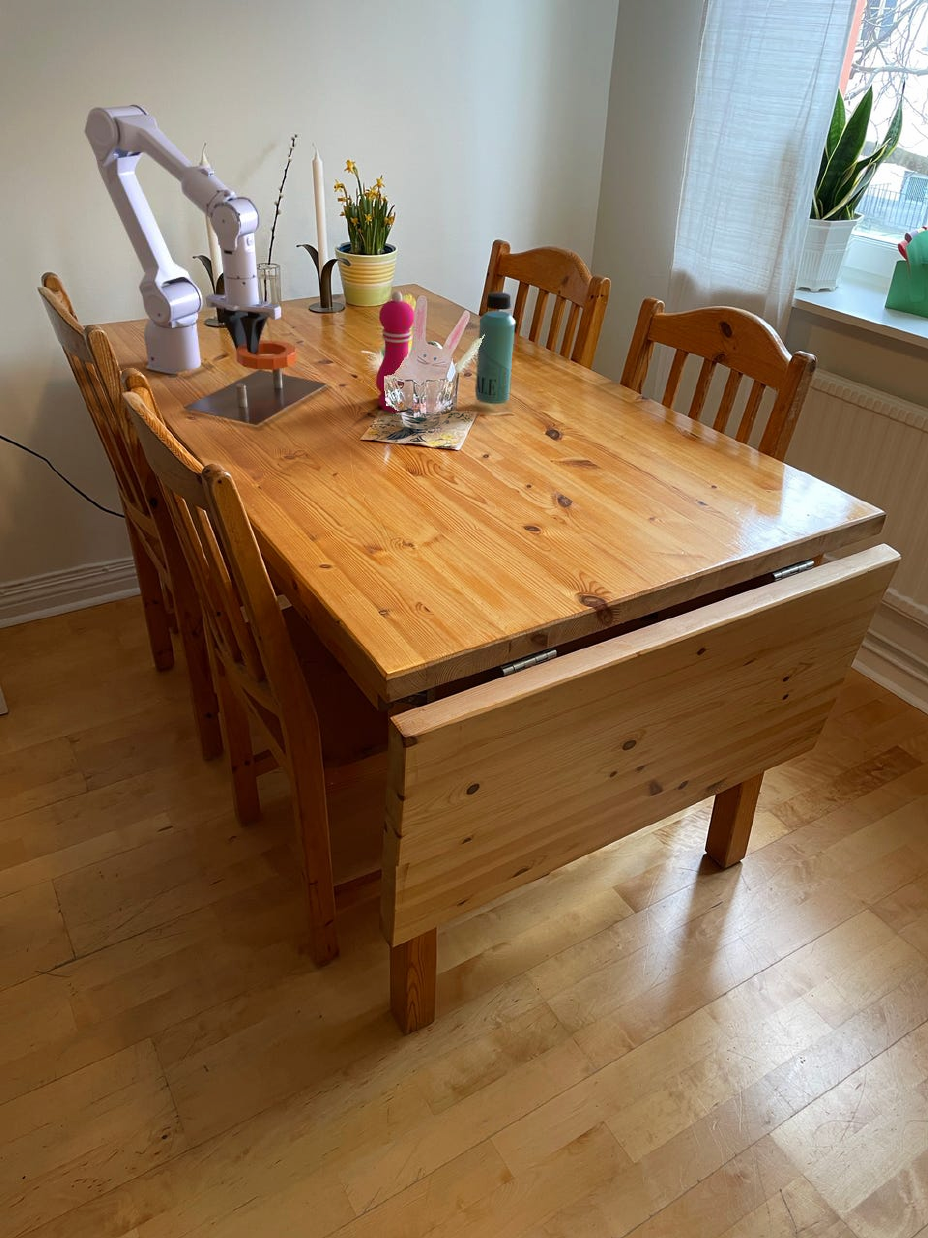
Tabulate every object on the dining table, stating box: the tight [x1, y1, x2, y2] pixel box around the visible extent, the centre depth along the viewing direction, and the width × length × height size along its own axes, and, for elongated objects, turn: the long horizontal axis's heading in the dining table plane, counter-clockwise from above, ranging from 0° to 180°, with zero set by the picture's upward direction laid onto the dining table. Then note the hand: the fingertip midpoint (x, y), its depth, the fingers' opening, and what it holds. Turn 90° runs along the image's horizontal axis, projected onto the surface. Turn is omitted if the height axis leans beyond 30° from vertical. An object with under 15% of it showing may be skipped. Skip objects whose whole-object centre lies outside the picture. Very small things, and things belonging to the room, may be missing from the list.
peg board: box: [183, 368, 328, 426], centre depth 158 cm, size 15×23×4 cm, turn 157°
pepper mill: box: [375, 290, 415, 413], centre depth 155 cm, size 7×7×20 cm
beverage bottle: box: [474, 291, 516, 405], centre depth 157 cm, size 6×7×20 cm
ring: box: [235, 339, 297, 371], centre depth 161 cm, size 10×10×2 cm
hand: (247, 352), depth 162 cm, fingers closed on ring, 2 cm apart
